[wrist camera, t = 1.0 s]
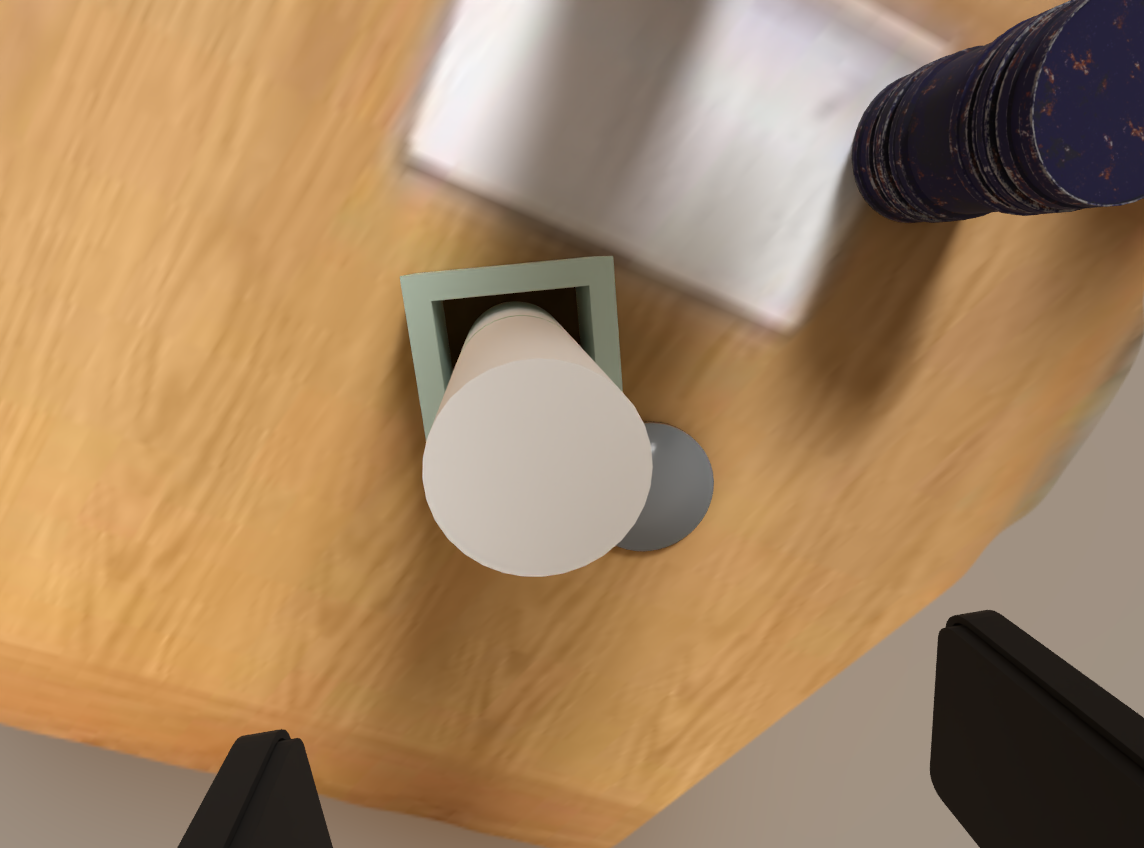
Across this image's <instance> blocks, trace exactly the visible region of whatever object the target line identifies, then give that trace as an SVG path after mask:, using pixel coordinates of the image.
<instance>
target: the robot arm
mask: <svg viewBox="0 0 1144 848" xmlns="http://www.w3.org/2000/svg"><path fill="white" fill-rule="evenodd" d="M930 775H931V780H932V783H933V785H934V788H935V790H936V792H937V794H938V795H939V797H940V798H941V799H942V801H943V802H944V803H945V805H946V806H947V807H948V808H949V810H950V811H951V812H952V814H953V815H954V816H955V817H956V819H957V820H958V821H959V822H960V824H961V825H962V826H963V827H964V828H965V830H966V831H967V832H968V833H969V835H970V836H971V837H972V838H973V840H974V841H975V842H976V843H977V845H978V846H979V847H980V848H1144V718H1143V717H1142V716H1140V715H1139V714H1138V713H1136V712H1135V711H1134V710H1132V709H1131V708H1129V707H1128V706H1127V705H1125V704H1124V703H1122V702H1121V701H1120V700H1118V699H1117V698H1116V697H1114V696H1113V695H1111V694H1110V693H1109V692H1107V691H1106V690H1104V689H1103V688H1102V687H1100V686H1099V685H1098V684H1096V683H1095V682H1094V681H1092V680H1091V679H1089V678H1088V677H1087V676H1085V675H1084V674H1082V673H1081V672H1080V671H1078V670H1077V669H1076V668H1074V667H1073V666H1071V665H1070V664H1068V663H1067V662H1066V661H1065V660H1063V659H1062V658H1060V657H1059V656H1058V655H1056V654H1055V653H1054V652H1052V651H1051V650H1049V649H1048V648H1046V647H1045V646H1044V645H1042V644H1041V643H1040V642H1038V641H1037V640H1035V639H1034V638H1033V637H1031V636H1030V635H1029V634H1027V633H1026V632H1025V631H1023V630H1022V629H1020V628H1019V627H1018V626H1016V625H1015V624H1013V623H1012V622H1011V621H1009V620H1008V619H1006V618H1005V617H1004V616H1002V615H1001V614H999V613H997V612H995V611H992V610H984V611H978V612H973V613H966V614H960V615H955V616H952V617H950V618H949V619H948V621H947V623H946V628H943V629H941V631H940V632H939V635H938V647H937V663H936V680H935V696H934V711H933V727H932V743H931V759H930ZM178 848H333V847H332V843H331V840H330V836H329V832H328V829H327V825H326V822H325V818H324V815H323V811H322V808H321V804H320V800H319V797H318V793H317V790H316V786H315V783H314V779H313V776H312V772H311V768H310V765H309V761H308V758H307V754H306V751H305V747H304V744H303V742H302V740H301V739H300V738H295V739H291V738H290V736H289V733H288V732H287V731H286V730H282V729H281V730H275V731H269V732H263V733H257V734H251V735H245V736H241V737H240V738H238V739H237V740H236V741H235V743H234V744H233V746H232V748H231V749H230V751H229V753H228V755H227V757H226V759H225V760H224V762H223V764H222V766H221V768H220V770H219V772H218V773H217V775H216V777H215V779H214V781H213V783H212V785H211V786H210V788H209V790H208V792H207V794H206V796H205V798H204V800H203V801H202V803H201V805H200V807H199V809H198V811H197V812H196V814H195V816H194V818H193V820H192V822H191V823H190V825H189V827H188V829H187V831H186V833H185V835H184V836H183V838H182V840H181V842H180V844H179V846H178Z"/></svg>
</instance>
